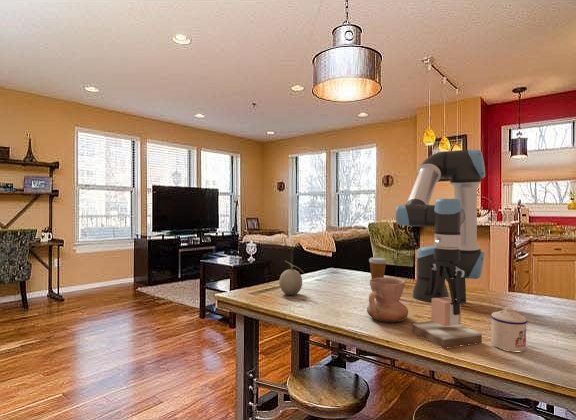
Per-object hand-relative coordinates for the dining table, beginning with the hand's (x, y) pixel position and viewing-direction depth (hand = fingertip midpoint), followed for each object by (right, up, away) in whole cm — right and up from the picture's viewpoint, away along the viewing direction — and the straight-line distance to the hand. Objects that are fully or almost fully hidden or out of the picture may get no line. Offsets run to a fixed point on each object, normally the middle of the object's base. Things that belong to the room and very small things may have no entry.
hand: (446, 321), depth 111 cm
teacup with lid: (+16, -6, -6) cm, 18 cm away
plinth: (0, -5, 0) cm, 5 cm away
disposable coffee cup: (0, -4, +84) cm, 84 cm away
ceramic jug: (-14, -5, +18) cm, 23 cm away
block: (0, 0, 0) cm, 0 cm away
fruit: (-48, -4, +52) cm, 71 cm away
